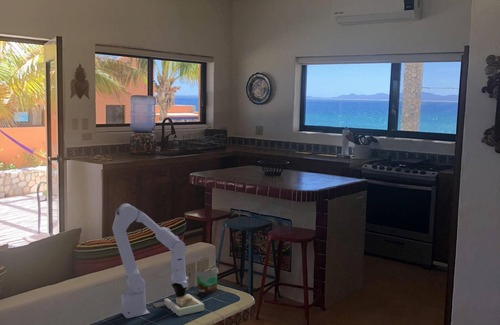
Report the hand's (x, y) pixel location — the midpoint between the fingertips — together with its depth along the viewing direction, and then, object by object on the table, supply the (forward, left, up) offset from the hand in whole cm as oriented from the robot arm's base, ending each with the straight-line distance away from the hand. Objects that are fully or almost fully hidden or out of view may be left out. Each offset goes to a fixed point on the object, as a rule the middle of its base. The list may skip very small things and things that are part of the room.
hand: (180, 300), depth 223 cm
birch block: (0, -4, -2) cm, 4 cm away
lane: (0, -3, -2) cm, 4 cm away
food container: (+18, +9, -2) cm, 20 cm away
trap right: (+7, +5, -2) cm, 9 cm away
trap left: (-8, +5, -2) cm, 9 cm away
